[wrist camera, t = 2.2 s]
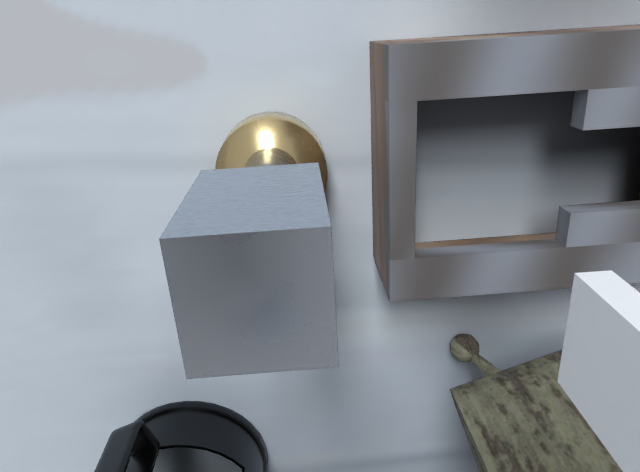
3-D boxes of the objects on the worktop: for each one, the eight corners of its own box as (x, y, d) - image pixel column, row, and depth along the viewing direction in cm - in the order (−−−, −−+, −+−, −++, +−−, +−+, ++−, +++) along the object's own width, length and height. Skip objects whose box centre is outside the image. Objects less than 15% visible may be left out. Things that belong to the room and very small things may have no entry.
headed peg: (227, 216, 26) (167, 398, 13) (214, 115, 24) (127, 216, 11) (327, 209, 26) (361, 383, 14) (321, 108, 24) (356, 200, 12)
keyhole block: (373, 256, 28) (389, 301, 23) (369, 41, 23) (389, 45, 19) (641, 236, 28) (709, 277, 23) (685, 21, 24) (779, 20, 19)
